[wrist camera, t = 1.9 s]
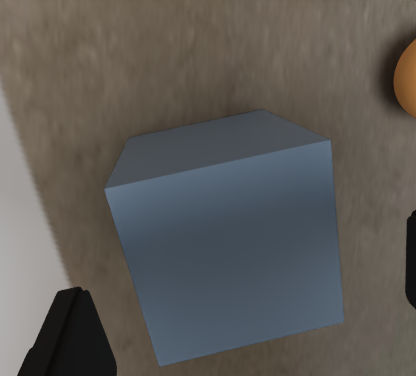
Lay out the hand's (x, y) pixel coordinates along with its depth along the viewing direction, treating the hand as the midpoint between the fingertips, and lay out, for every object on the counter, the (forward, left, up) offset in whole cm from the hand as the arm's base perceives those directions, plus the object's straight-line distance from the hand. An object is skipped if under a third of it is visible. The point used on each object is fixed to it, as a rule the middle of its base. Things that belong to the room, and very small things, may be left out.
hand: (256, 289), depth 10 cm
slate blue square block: (-1, 0, -12) cm, 12 cm away
